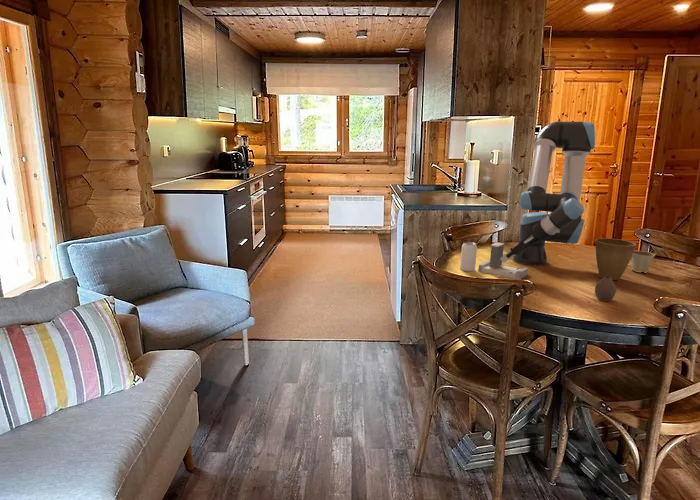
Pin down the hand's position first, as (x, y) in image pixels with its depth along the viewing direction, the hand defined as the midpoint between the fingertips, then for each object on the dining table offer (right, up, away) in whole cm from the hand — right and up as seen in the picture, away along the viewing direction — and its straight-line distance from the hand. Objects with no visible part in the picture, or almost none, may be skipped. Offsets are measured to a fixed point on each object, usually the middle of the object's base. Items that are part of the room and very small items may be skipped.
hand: (502, 260), depth 211 cm
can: (-14, -4, +5) cm, 15 cm away
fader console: (0, -5, +1) cm, 6 cm away
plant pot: (+45, -8, -2) cm, 46 cm away
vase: (+29, -14, -29) cm, 43 cm away
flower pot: (+64, -5, +8) cm, 65 cm away
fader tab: (-2, -4, +3) cm, 5 cm away
